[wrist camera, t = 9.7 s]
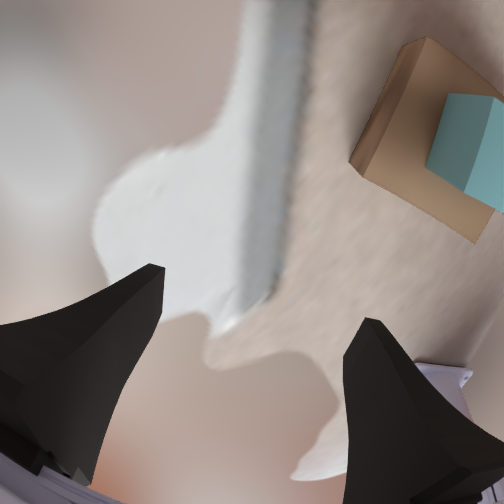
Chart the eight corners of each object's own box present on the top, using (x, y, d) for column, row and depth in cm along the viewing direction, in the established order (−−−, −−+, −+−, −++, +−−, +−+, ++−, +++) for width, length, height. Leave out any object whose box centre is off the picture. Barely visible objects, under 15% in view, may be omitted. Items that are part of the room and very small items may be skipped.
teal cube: (481, 195, 13) (523, 225, 9) (424, 167, 13) (463, 192, 9) (504, 128, 11) (552, 143, 8) (448, 92, 11) (494, 96, 8)
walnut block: (447, 217, 18) (474, 244, 14) (347, 160, 17) (362, 177, 14) (495, 118, 14) (532, 126, 11) (400, 47, 13) (427, 36, 10)
